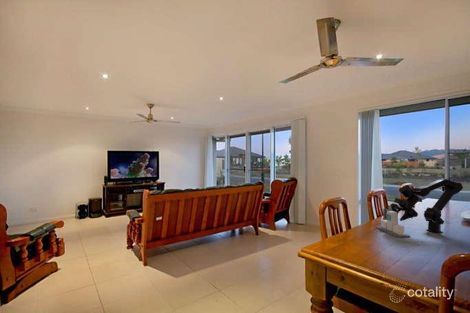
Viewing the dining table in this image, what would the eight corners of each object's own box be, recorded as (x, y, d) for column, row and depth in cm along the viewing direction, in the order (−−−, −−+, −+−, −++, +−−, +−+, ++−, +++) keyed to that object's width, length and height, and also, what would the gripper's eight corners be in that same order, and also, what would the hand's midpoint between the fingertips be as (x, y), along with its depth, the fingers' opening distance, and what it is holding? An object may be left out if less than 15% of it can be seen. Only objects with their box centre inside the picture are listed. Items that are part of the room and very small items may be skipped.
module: (392, 228, 160) (392, 210, 160) (397, 230, 156) (397, 212, 156) (386, 228, 160) (386, 210, 160) (391, 230, 156) (391, 212, 156)
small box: (398, 225, 173) (398, 211, 173) (388, 225, 175) (388, 211, 175) (392, 222, 184) (391, 208, 184) (382, 221, 185) (382, 208, 185)
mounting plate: (388, 227, 168) (388, 219, 168) (410, 237, 148) (410, 227, 148) (376, 228, 168) (376, 219, 168) (396, 237, 148) (396, 227, 148)
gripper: (392, 192, 168) (377, 207, 167) (413, 196, 149) (397, 213, 149) (403, 202, 168) (388, 218, 168) (425, 208, 150) (409, 225, 149)
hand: (395, 218), depth 158 cm, fingers open, 9 cm apart
